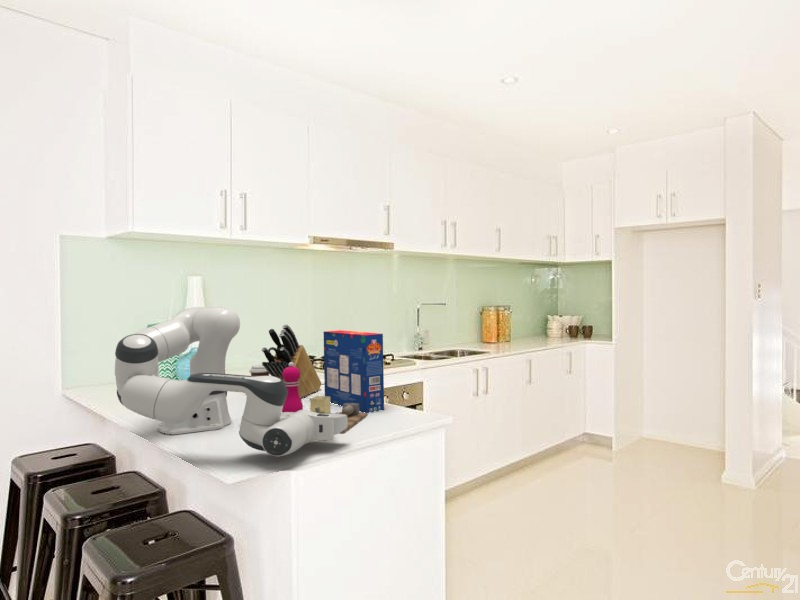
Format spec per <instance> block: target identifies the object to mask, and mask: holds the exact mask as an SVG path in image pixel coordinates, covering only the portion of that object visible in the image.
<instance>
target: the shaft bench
mask: <svg viewBox="0 0 800 600" xmlns="http://www.w3.org/2000/svg"><path fill="white" fill-rule="evenodd" d="M334 414H345V415H347V419H348V425H347V428H346V429H345V430H343V431H342V432H340V433H339V434H345V433H347V432H348V431H349V430H351V429H352V428H353V427H354V425H355V426H356V425H357V424H359V423H360V422H362V421H363V420H364V419H365V418H367V417H368V416H367V415H368V414H369V413H363V412H359V403H345V404H343V407H342V410H341V411H340V412H339V411H338V412H335V413H334ZM366 416H367V417H366ZM363 418H364V419H363ZM362 419H363V420H362ZM358 422H359V423H358ZM350 428H351V429H350ZM346 431H347V432H346Z"/></svg>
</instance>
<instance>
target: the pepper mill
mask: <svg viewBox="0 0 800 600" xmlns="http://www.w3.org/2000/svg"><path fill="white" fill-rule="evenodd" d="M293 366H294V363H293V362H290V363H289V367H287V368H285V369H284V370H283V373H282V377H283V379H284V380H285V381H284V384H285V386H286V388H287V390H288V394H287V397H286V400H285V403H284V405H283V409H282V413H284V412H297V411H299V410H304V406H303V401H302V399H301V398H300V397H299V394H298V385H299V381H298V379H299V378H300V370H299V369H298V368H296V367H293Z"/></svg>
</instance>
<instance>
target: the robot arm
mask: <svg viewBox="0 0 800 600" xmlns="http://www.w3.org/2000/svg"><path fill="white" fill-rule="evenodd" d="M240 326H241V321H240V317H239V315H238V314H237V312H236V311H234V310H231V309H229V308H226V307H222V306H221V307H220V306H216V307H215V306H205V307H203V306H201V307H200V306H199V307H196V306H195V307H189V308H188V307H187V308H186V309H182V310H180V311H178V312H177V314H175V316H173V317H171V318H170V319H167V320H165V321H162V322H159V323H156V324H155V325H151V326H149V327H145V328H143V329H141V330H139V331H137V332H135V333H133V334H129V335H126V336H124V337H123V338H122V339H120V340H119V341H118V343H117V345H116V347H115V353H114V354H115V355H114V356H115V361H114V376H115V384H116V395H117V398H118V402H119V403H120V404H121V405H122V406H123V407H125V408H126V409H127V410H129V411H131V412H133V413H136V414H138V415H141V416H143V417H146V418H148V419H151V420H155V421H158V422H162V423H160V424H159V425H158V426H157V430H158V432H159V433H162V434H164V433H165V435H170V434H171V435H182V434H189V433H196V432H204V431H213V430H220V429H222V428H224V427H225V426H227V425H229V424H231V423H232V419H231V416H230V413H229V407H228V401H227V396H228V392H233V393H243V394H245V395H246V401H245V404H244V405H245V406H244V409H243V413H242V416H241V420H240V424H239V431H238V434H239V436H240V439H242V441H243V442H244V443H245V444H246V445H247V446H248V447H250V448H252V449H254V450H258V451H262V452H266V453H267V454H268V455H269V456H274V457H283V456H287V455H290V454H292V453H294V452H296V451H297V450H299V449H300V448H302V447H303V446H304V445H306V444H310V443H313V442H318V441H319V442H320V441H328V440H329V441H330V440H333V439H334V437H335V436H336V435H339V434H341V433H340V432H342V431H343V430H345V429H346V428H347V425H348V419H347V415H345V414H335V413H333V412H331V413H327V414H323V413H316V412H311V410H309V409H303V410H299V411H297V412H284V413H282V409H283V405H284V403H285V400H286V397H287V394H288V390H287V388H286V386H285V384H284V382H283V381H282V380H281V379H280V378H277V377H274V376H271V375H269V376H251V375H244V374H232V373H229V374H228V373H226V358H227V352H228V349H229V346H230V344H231V342H232V341H233V338H235V337H236V336H237V334H238V332H239V331H240V328H241V327H240ZM195 342H198V346H197V350H196V352H195V353H194V354H193V355H192V356H191V358H190V359H189V376H188V378H186V379H183V380H181V379H180V380H179V379H178V380H177V379H171V378H168V377H163V376H160V367H159V363H161V362H164V361H167V360H168V359H171V358H173V357H175V356H178V355H180V354H182V353H184V352H186V351H187V349H189V346H190V345H191V344H193V343H195Z"/></svg>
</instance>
